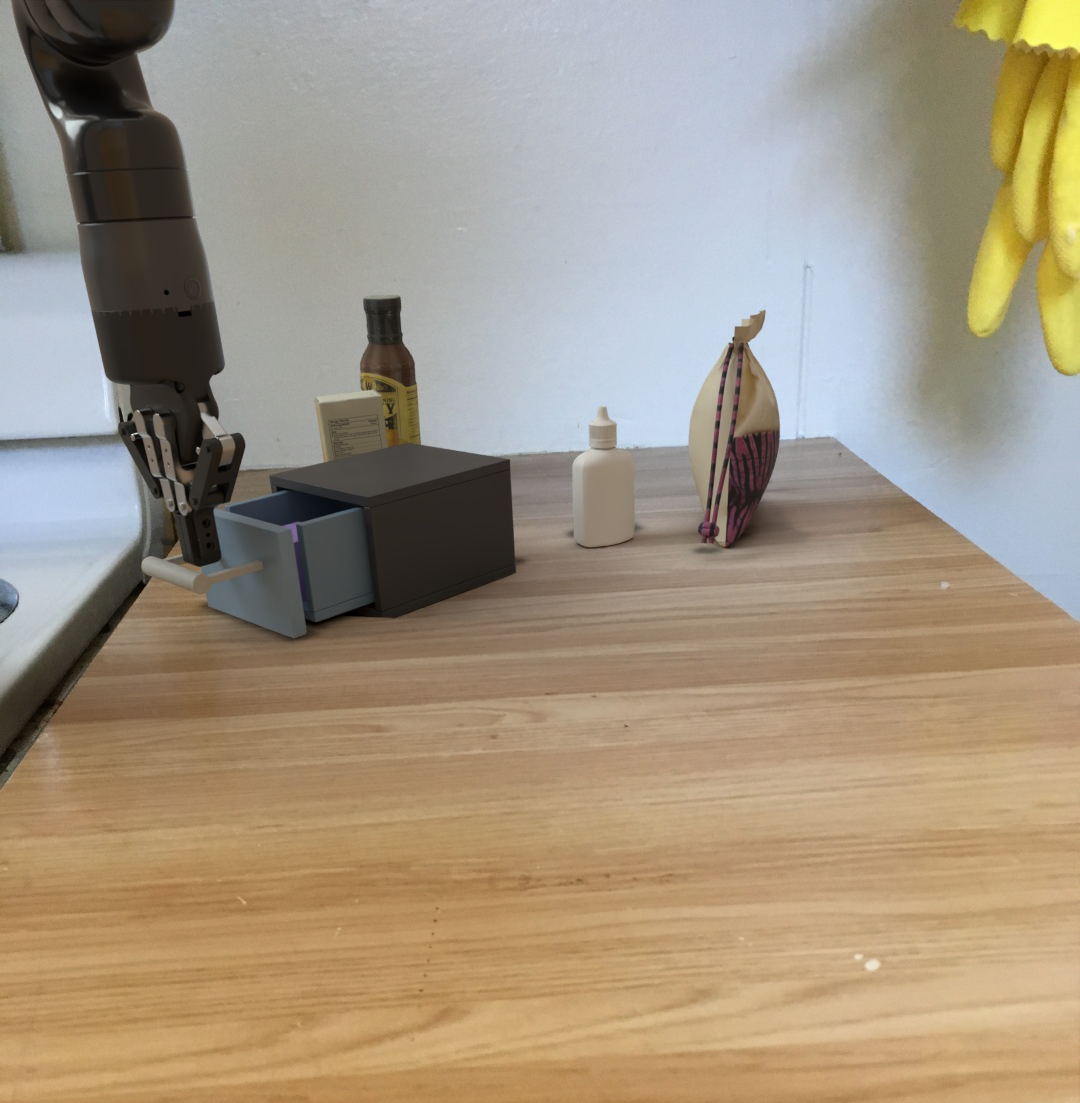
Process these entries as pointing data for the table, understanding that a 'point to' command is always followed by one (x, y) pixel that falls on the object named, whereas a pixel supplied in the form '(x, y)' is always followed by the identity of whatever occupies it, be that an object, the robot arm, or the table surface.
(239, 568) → the blue drawer
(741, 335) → the pouch
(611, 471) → the eye dropper bottle
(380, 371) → the sauce bottle
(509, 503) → the drawer cabinet
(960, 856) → the table surface
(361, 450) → the cosmetic box
